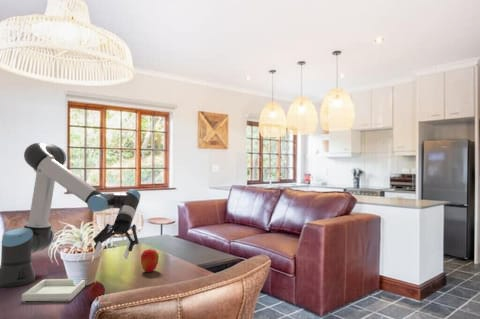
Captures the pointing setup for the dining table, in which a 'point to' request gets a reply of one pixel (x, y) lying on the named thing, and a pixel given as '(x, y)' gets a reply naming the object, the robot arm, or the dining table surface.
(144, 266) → the apple
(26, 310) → the dining table surface
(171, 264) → the dining table surface
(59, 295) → the dish
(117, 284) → the dining table surface
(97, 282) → the onion
